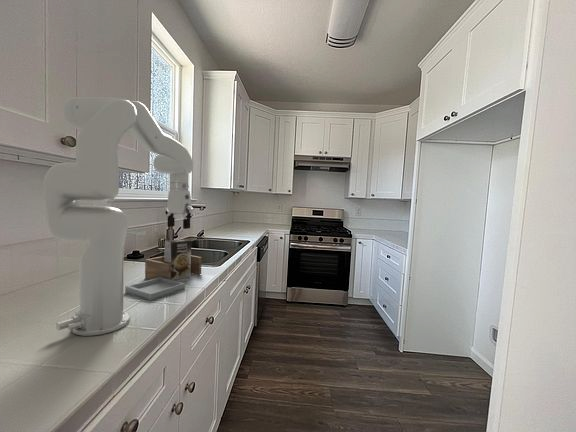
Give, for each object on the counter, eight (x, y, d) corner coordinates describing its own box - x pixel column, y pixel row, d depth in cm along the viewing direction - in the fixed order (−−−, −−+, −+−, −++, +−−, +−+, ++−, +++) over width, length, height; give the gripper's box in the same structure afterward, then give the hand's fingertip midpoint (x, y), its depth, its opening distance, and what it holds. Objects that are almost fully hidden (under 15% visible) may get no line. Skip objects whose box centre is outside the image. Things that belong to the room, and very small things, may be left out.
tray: (150, 301, 89) (150, 294, 89) (125, 292, 96) (125, 286, 96) (184, 289, 102) (184, 283, 101) (160, 282, 108) (160, 277, 108)
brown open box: (167, 284, 107) (168, 264, 106) (145, 278, 113) (145, 259, 113) (201, 274, 122) (201, 257, 121) (179, 269, 129) (179, 253, 128)
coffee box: (171, 281, 111) (172, 242, 110) (163, 278, 115) (163, 240, 114) (191, 276, 118) (191, 240, 117) (182, 273, 122) (183, 238, 121)
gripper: (200, 188, 114) (200, 228, 115) (172, 187, 122) (172, 225, 123) (186, 187, 107) (185, 230, 108) (157, 186, 115) (157, 226, 116)
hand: (178, 227), depth 116 cm, fingers open, 9 cm apart
